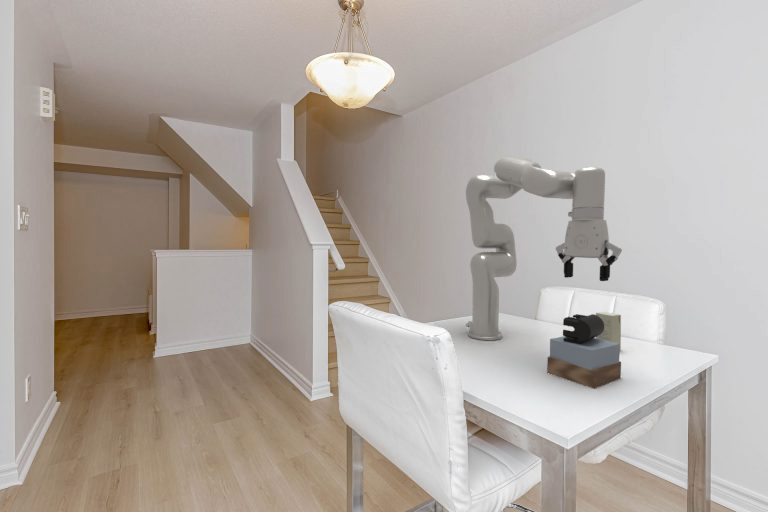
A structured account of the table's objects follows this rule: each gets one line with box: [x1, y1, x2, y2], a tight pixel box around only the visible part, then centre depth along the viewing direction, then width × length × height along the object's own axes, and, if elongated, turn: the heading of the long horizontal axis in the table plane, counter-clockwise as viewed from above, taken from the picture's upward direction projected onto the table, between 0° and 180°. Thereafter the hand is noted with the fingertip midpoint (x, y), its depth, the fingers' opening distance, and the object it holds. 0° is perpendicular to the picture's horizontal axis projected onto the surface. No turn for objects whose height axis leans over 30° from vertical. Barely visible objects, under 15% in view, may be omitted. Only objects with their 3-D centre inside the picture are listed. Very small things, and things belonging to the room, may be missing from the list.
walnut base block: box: [546, 356, 622, 390], centre depth 104 cm, size 13×13×5 cm
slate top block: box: [549, 335, 621, 370], centre depth 104 cm, size 12×12×5 cm
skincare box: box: [595, 311, 622, 352], centre depth 128 cm, size 6×4×12 cm
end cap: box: [562, 313, 604, 344], centre depth 104 cm, size 10×7×7 cm
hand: (585, 278), depth 104 cm, fingers open, 9 cm apart
